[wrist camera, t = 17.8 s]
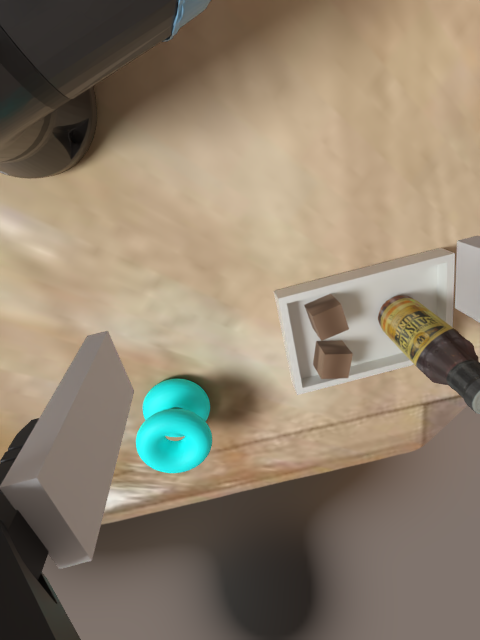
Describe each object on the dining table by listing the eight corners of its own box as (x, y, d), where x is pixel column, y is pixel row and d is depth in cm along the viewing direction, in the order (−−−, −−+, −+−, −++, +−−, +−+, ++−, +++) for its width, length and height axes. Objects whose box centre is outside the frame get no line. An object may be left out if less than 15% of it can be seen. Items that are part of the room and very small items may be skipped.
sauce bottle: (395, 285, 52) (502, 356, 34) (424, 306, 53) (541, 384, 36) (364, 321, 53) (451, 407, 35) (394, 340, 55) (490, 431, 37)
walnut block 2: (312, 364, 55) (321, 379, 52) (316, 340, 54) (324, 354, 50) (338, 363, 56) (348, 378, 52) (342, 340, 54) (352, 353, 51)
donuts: (220, 424, 47) (203, 481, 50) (216, 380, 56) (201, 431, 59) (141, 413, 45) (129, 473, 48) (150, 369, 54) (139, 423, 57)
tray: (292, 383, 57) (297, 395, 55) (273, 290, 51) (278, 298, 48) (439, 345, 58) (451, 354, 55) (440, 247, 51) (454, 253, 48)
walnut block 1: (312, 328, 53) (321, 341, 49) (304, 304, 51) (312, 316, 48) (338, 317, 53) (349, 329, 49) (330, 293, 51) (341, 304, 47)
